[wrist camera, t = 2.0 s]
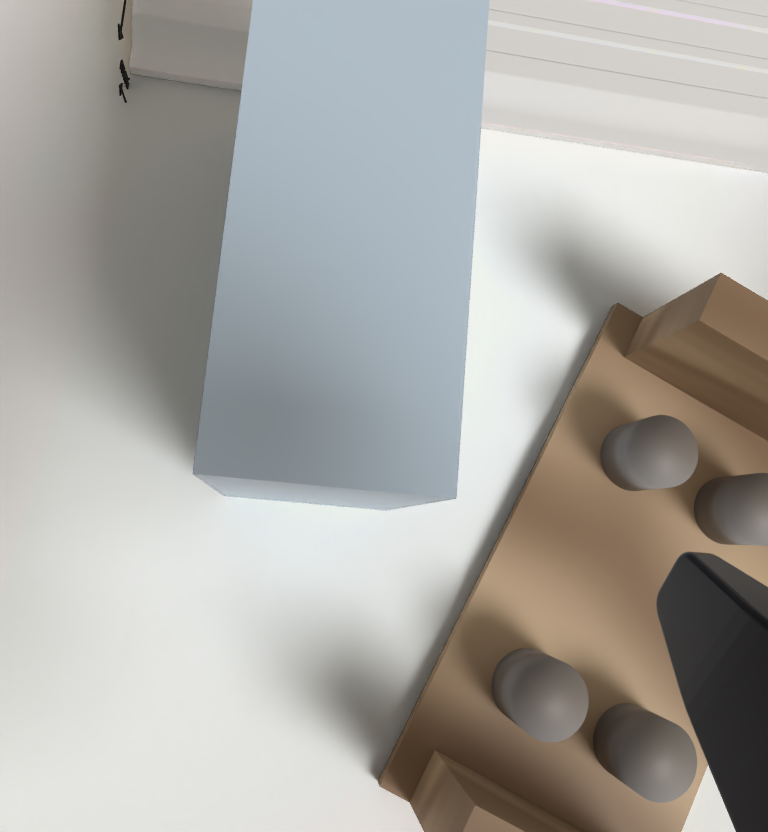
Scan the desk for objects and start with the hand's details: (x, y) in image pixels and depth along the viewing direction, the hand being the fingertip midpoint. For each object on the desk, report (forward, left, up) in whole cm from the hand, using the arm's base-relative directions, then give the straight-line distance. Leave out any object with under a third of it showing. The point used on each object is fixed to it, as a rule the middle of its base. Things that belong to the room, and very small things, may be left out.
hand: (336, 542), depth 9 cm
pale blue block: (+6, +3, -14) cm, 15 cm away
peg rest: (+4, -10, -13) cm, 17 cm away
